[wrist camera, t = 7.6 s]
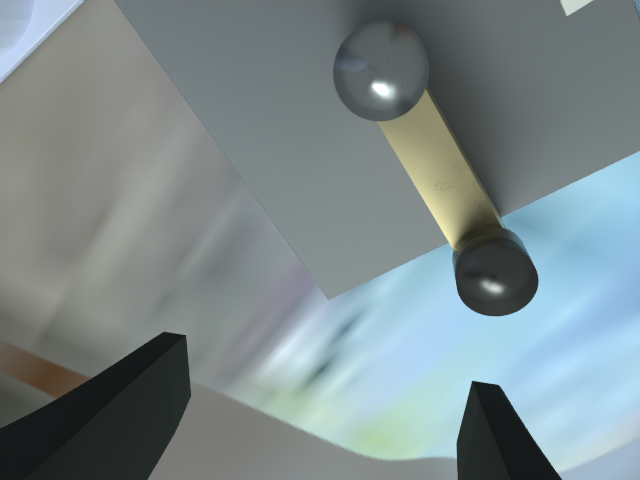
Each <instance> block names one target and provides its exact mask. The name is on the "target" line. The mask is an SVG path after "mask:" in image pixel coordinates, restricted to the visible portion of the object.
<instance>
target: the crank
mask: <svg viewBox="0 0 640 480" xmlns="http://www.w3.org/2000/svg"><path fill="white" fill-rule="evenodd" d="M333 79H334V85H335V89H336V91H337V94H338V96H339V98H340V100H341V101H342V102H343V104H344V105H345V106H346V107H347V108H348V109H349V110H350V111H351V112H352V113H354V114H355V115H357V116H359V117H361V118H363V119H366V120H370V121H377V123H378V125H379V126H380V128H381V130H382V131H383V133H384V135H385V136H386V138H387V140H388V141H389V143H390V145H391V146H392V148H393V150H394V151H395V153H396V155H397V156H398V158H399V160H400V161H401V163H402V165H403V166H404V168H405V170H406V171H407V173H408V175H409V176H410V178H411V180H412V181H413V183H414V185H415V186H416V188H417V190H418V191H419V193H420V195H421V196H422V198H423V200H424V201H425V203H426V205H427V206H428V208H429V210H430V211H431V213H432V215H433V216H434V218H435V220H436V221H437V223H438V225H439V226H440V228H441V230H442V231H443V233H444V235H445V236H446V238H447V240H448V241H449V243H450V245H451V246H452V248H453V250H454V252H453V257H452V260H453V267H454V273H455V279H456V285H457V291H458V294H459V296H460V298H461V300H462V301H463V303H464V304H465V305H466V306H467V307H469V308H470V309H471V310H473V311H475V312H477V313H480V314H483V315H487V316H504V315H509V314H512V313H514V312H517V311H519V310H520V309H522V308H523V307H525V306H526V305H527V304H528V303H529V302H530V301H531V300H532V298H533V297H534V295H535V293H536V291H537V288H538V274H537V271H536V269H535V267H534V265H533V263H532V261H531V259H530V256H529V254H528V252H527V250H526V248H525V246H524V244H523V242H522V241H521V239H520V238H519V237H518V236H517V235H516V234H515V233H513V232H512V231H510V230H508V229H506V226H505V224H504V223H503V221H502V219H501V217H500V215H499V214H498V212H497V210H496V208H495V206H494V204H493V203H492V201H491V199H490V197H489V195H488V194H487V192H486V190H485V188H484V186H483V185H482V183H481V181H480V179H479V177H478V176H477V174H476V172H475V170H474V168H473V166H472V165H471V163H470V161H469V159H468V157H467V156H466V154H465V152H464V150H463V148H462V147H461V145H460V143H459V141H458V139H457V138H456V136H455V134H454V132H453V130H452V128H451V127H450V125H449V123H448V121H447V119H446V118H445V116H444V114H443V112H442V110H441V109H440V107H439V105H438V103H437V101H436V100H435V98H434V96H433V94H432V92H431V91H430V89H429V87H428V85H427V83H428V79H429V60H428V55H427V52H426V49H425V47H424V45H423V43H422V41H421V39H420V37H419V35H418V34H417V33H416V32H415V31H414V30H413V29H412V28H411V27H410V26H408V25H406V24H404V23H402V22H399V21H395V20H380V21H373V22H369V23H366V24H364V25H362V26H360V27H358V28H357V29H355V30H354V31H353V32H351V33H350V34H349V35H348V36H347V37H346V38H345V40H344V41H343V43H342V44H341V46H340V47H339V49H338V52H337V54H336V57H335V61H334V66H333Z"/></svg>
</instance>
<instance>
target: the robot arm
mask: <svg viewBox="0 0 640 480" xmlns="http://www.w3.org/2000/svg"><path fill="white" fill-rule="evenodd" d="M82 2H84V0H0V83H1V82H2V81H3V80H4V79H5V78H6V77H7V76H8V75H9V74H10V73H11V72H12V71H13V70H14V69H15V68H16V67H17V66H18V65H20V64H21V63H22V62H23V61H24V60H25V59H26V58H27V57H28V56H29V55H30V54H31V53H32V52H33V51H34V50H35V49H36V48H37V47H38V46H39V45H40V44H41V43H42V42H43V41H44V40H45V39H46V38H47V37H48V36H49V35H50V34H51V33H52V32H53V31H54V30H55V29H56V28H57V27H58V26H59V25H60V24H61V23H62V22H63V21H64V20H65V19H66V18H67V17H68V16H69V15H70V14H71V13H72V12H73V11H74V10H75V9H76V8H77V7H78V6H79V5H80V4H81V3H82ZM190 397H191V390H190V378H189V365H188V353H187V341H186V335H181V334H174V333H168V332H163V333H161V334H160V335H158V336H156V337H155V338H153V339H152V340H150V341H149V342H147V343H146V344H144V345H143V346H141V347H140V348H138V349H137V350H135V351H134V352H132V353H131V354H129V355H128V356H126V357H124V358H123V359H121V360H120V361H118V362H117V363H115V364H114V365H112V366H111V367H109V368H107V369H106V370H104V371H103V372H101V373H100V374H98V375H97V376H95V377H93V378H92V379H90V380H89V381H87V382H85V383H84V384H82V385H80V386H78V387H77V388H75V389H73V390H72V391H70V392H68V393H67V394H65V395H63V396H61V397H60V398H58V399H56V400H55V401H53V402H51V403H49V404H48V405H46V406H44V407H42V408H40V409H38V410H36V411H34V412H33V413H31V414H29V415H27V416H25V417H23V418H21V419H19V420H17V421H15V422H13V423H11V424H9V425H7V426H5V427H2V428H0V480H147V479H148V478H149V476H150V474H151V473H152V471H153V469H154V467H155V466H156V464H157V463H158V461H159V459H160V457H161V456H162V454H163V452H164V451H165V449H166V447H167V445H168V444H169V442H170V440H171V438H172V437H173V435H174V433H175V431H176V429H177V427H178V425H179V422H180V420H181V418H182V416H183V414H184V411H185V409H186V406H187V404H188V402H189V399H190ZM457 470H458V480H562V479H561V478H560V476H559V475H558V473H557V472H556V471H555V469H554V468H553V466H552V465H551V464H550V462H549V461H548V459H547V458H546V456H545V455H544V454H543V452H542V451H541V449H540V448H539V446H538V445H537V444H536V442H535V441H534V439H533V438H532V436H531V435H530V433H529V431H528V430H527V428H526V427H525V425H524V424H523V422H522V421H521V419H520V417H519V416H518V414H517V413H516V411H515V410H514V408H513V406H512V405H511V403H510V401H509V400H508V398H507V397H506V395H505V393H504V392H503V390H502V389H501V387H500V386H499V385H495V384H488V383H482V382H476V381H472V384H471V388H470V392H469V396H468V400H467V404H466V408H465V412H464V416H463V419H462V423H461V427H460V431H459V435H458V439H457Z"/></svg>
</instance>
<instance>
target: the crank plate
mask: <svg viewBox="0 0 640 480" xmlns="http://www.w3.org/2000/svg"><path fill="white" fill-rule="evenodd" d="M114 1H115V3H116V4H117V5H118V7H119V8H120V10H121V11H122V12H123V14H124V15H125V17H126V18H127V19H128V21H129V22H130V24H131V25H132V26H133V28H134V29H135V31H136V32H137V33H138V35H139V36H140V38H141V39H142V40H143V42H144V43H145V45H146V46H147V47H148V49H149V50H150V52H151V53H152V54H153V56H154V57H155V59H156V60H157V61H158V63H159V64H160V66H161V67H162V68H163V70H164V71H165V73H166V74H167V75H168V77H169V78H170V80H171V81H172V82H173V84H174V85H175V87H176V88H177V89H178V91H179V92H180V94H181V95H182V96H183V98H184V99H185V101H186V102H187V103H188V105H189V106H190V108H191V109H192V110H193V112H194V113H195V115H196V116H197V117H198V119H199V120H200V122H201V123H202V124H203V126H204V127H205V128H206V130H207V131H208V133H209V134H210V135H211V137H212V138H213V140H214V141H215V142H216V144H217V145H218V147H219V148H220V149H221V151H222V152H223V154H224V155H225V156H226V158H227V159H228V161H229V162H230V163H231V165H232V166H233V168H234V169H235V170H236V172H237V173H238V175H239V176H240V177H241V179H242V180H243V182H244V183H245V184H246V186H247V187H248V189H249V190H250V191H251V193H252V194H253V196H254V197H255V198H256V200H257V201H258V203H259V204H260V205H261V207H262V208H263V210H264V211H265V212H266V214H267V215H268V217H269V218H270V219H271V221H272V222H273V224H274V225H275V226H276V228H277V229H278V231H279V232H280V233H281V235H282V236H283V238H284V239H285V240H286V242H287V243H288V245H289V246H290V247H291V249H292V250H293V252H294V253H295V254H296V256H297V257H298V259H299V260H300V261H301V263H302V264H303V266H304V267H305V268H306V270H307V271H308V272H309V274H310V275H311V277H312V278H313V279H314V281H315V282H316V284H317V285H318V286H319V288H320V289H321V291H322V292H323V293H324V295H325V296H326V298H327V299H328V300H330V299H332V298H334V297H336V296H338V295H340V294H342V293H344V292H346V291H348V290H350V289H352V288H355V287H357V286H359V285H361V284H363V283H365V282H367V281H369V280H371V279H373V278H375V277H377V276H380V275H382V274H384V273H386V272H388V271H390V270H392V269H394V268H396V267H398V266H400V265H402V264H405V263H407V262H409V261H411V260H413V259H415V258H417V257H419V256H421V255H423V254H425V253H428V252H430V251H432V250H434V249H436V248H438V247H440V246H442V245H444V244H446V243H448V242H449V241H448V240H447V238H446V236H445V235H444V233H443V231H442V230H441V228H440V226H439V225H438V223H437V221H436V220H435V218H434V216H433V215H432V213H431V211H430V210H429V208H428V206H427V205H426V203H425V201H424V200H423V198H422V196H421V195H420V193H419V191H418V190H417V188H416V186H415V185H414V183H413V181H412V180H411V178H410V176H409V175H408V173H407V171H406V170H405V168H404V166H403V165H402V163H401V161H400V160H399V158H398V156H397V155H396V153H395V151H394V150H393V148H392V146H391V145H390V143H389V141H388V140H387V138H386V136H385V135H384V133H383V131H382V130H381V128H380V126H379V125H378V123H377V121H370V120H366V119H363V118H361V117H359V116H357V115H355V114H354V113H352V112H351V111H350V110H349V109H348V108H347V107H346V106H345V105H344V104H343V102H342V101H341V100H340V98H339V96H338V94H337V91H336V89H335V85H334V79H333V66H334V61H335V57H336V54H337V52H338V49H339V47H340V46H341V44H342V43H343V41H344V40H345V38H346V37H347V36H348V35H349V34H350V33H351V32H353V31H354V30H355V29H357V28H358V27H360V26H362V25H364V24H366V23H369V22H373V21H380V20H395V21H399V22H402V23H404V24H406V25H408V26H410V27H411V28H412V29H413V30H414V31H415V32H416V33H417V34H418V35H419V37H420V39H421V41H422V43H423V45H424V47H425V49H426V52H427V55H428V60H429V79H428V83H427V85H428V87H429V89H430V91H431V92H432V94H433V96H434V98H435V100H436V101H437V103H438V105H439V107H440V109H441V110H442V112H443V114H444V116H445V118H446V119H447V121H448V123H449V125H450V127H451V128H452V130H453V132H454V134H455V136H456V138H457V139H458V141H459V143H460V145H461V147H462V148H463V150H464V152H465V154H466V156H467V157H468V159H469V161H470V163H471V165H472V166H473V168H474V170H475V172H476V174H477V176H478V177H479V179H480V181H481V183H482V185H483V186H484V188H485V190H486V192H487V194H488V195H489V197H490V199H491V201H492V203H493V204H494V206H495V208H496V210H497V212H498V214H499V215H500V217H503V216H505V215H507V214H509V213H511V212H513V211H515V210H517V209H519V208H521V207H523V206H526V205H528V204H530V203H532V202H534V201H536V200H538V199H540V198H542V197H544V196H546V195H548V194H551V193H553V192H555V191H557V190H559V189H561V188H563V187H565V186H567V185H569V184H571V183H573V182H576V181H578V180H580V179H582V178H584V177H586V176H588V175H590V174H592V173H594V172H596V171H598V170H601V169H603V168H605V167H607V166H609V165H611V164H613V163H615V162H617V161H619V160H621V159H623V158H626V157H628V156H630V155H632V154H634V153H636V152H638V151H640V19H639V16H638V14H637V11H636V9H635V6H634V4H633V1H632V0H114Z"/></svg>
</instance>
